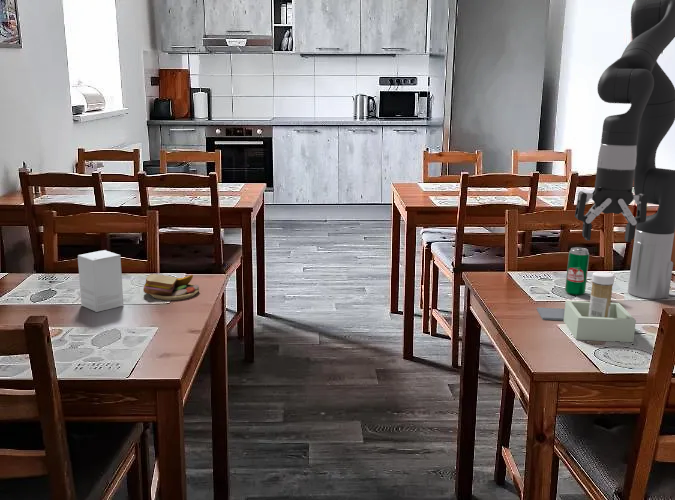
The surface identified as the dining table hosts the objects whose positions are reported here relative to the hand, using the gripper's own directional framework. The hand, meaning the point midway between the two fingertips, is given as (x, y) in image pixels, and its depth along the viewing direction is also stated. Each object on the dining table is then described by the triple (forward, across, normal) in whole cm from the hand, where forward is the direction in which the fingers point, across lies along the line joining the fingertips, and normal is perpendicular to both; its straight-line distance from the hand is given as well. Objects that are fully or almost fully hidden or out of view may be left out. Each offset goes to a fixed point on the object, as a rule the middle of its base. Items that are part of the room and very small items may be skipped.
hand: (607, 240), depth 151 cm
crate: (+21, 0, 0) cm, 21 cm away
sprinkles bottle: (+21, 0, 0) cm, 21 cm away
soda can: (+21, -2, -29) cm, 36 cm away
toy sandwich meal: (+22, +102, -12) cm, 105 cm away
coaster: (+21, +7, -10) cm, 24 cm away
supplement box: (+22, +115, -1) cm, 117 cm away
